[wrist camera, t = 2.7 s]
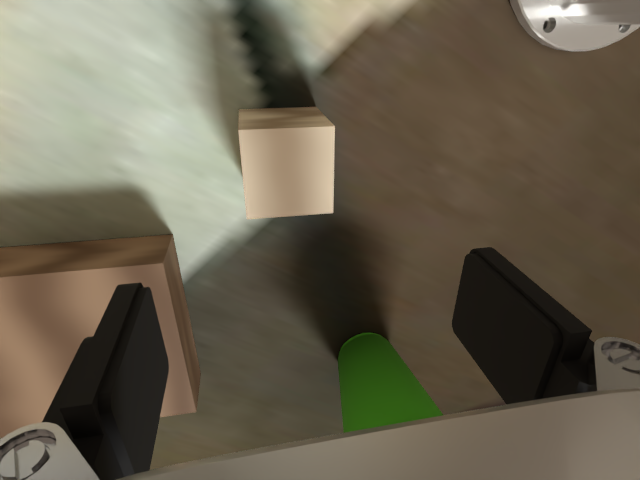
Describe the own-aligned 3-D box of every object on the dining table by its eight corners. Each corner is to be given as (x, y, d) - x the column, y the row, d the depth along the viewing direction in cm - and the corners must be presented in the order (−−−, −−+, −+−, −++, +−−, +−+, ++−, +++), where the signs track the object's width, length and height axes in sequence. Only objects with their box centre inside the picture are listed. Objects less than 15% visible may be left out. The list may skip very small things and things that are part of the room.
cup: (297, 354, 36) (317, 472, 26) (377, 297, 34) (430, 401, 25) (351, 399, 40) (386, 515, 30) (425, 350, 38) (486, 456, 29)
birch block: (315, 106, 26) (334, 126, 21) (316, 179, 28) (333, 212, 23) (238, 109, 25) (238, 130, 20) (245, 183, 27) (246, 219, 22)
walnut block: (172, 234, 28) (163, 263, 25) (200, 373, 35) (196, 411, 31) (-47, 251, 26) (-92, 285, 23) (27, 396, 33) (2, 440, 29)
